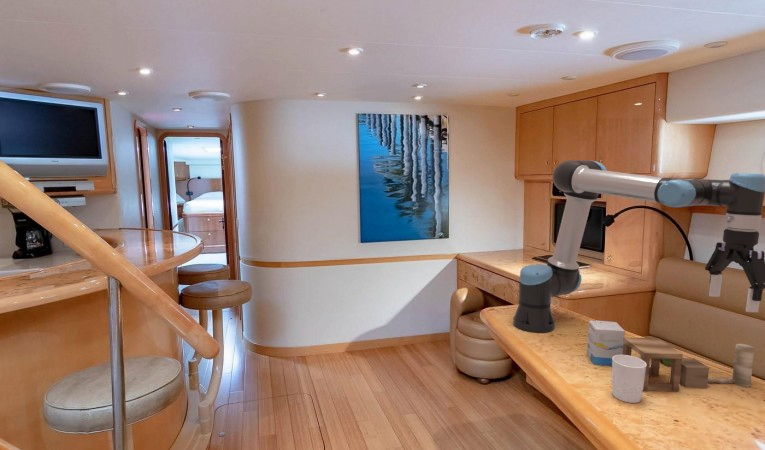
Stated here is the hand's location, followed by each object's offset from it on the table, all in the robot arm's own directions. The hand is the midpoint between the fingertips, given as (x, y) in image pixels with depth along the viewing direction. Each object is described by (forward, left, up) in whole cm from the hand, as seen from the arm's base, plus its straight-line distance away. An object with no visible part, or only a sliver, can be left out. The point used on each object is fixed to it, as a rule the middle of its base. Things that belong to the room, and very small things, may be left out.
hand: (731, 303), depth 120 cm
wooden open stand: (+3, -23, -23) cm, 32 cm away
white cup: (+11, -33, -23) cm, 42 cm away
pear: (-12, -10, -23) cm, 28 cm away
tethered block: (+3, -5, -23) cm, 23 cm away
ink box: (-11, -29, -23) cm, 38 cm away
